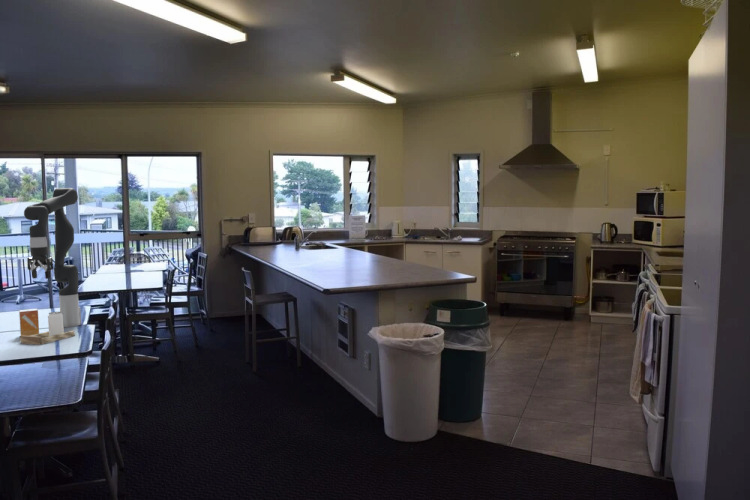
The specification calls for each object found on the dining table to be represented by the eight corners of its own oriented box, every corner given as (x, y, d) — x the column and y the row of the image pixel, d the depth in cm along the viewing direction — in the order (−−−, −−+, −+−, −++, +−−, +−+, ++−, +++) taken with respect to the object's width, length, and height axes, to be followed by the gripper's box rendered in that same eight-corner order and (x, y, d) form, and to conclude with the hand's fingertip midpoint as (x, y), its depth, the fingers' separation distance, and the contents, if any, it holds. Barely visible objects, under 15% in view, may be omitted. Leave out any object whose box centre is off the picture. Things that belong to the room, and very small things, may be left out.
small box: (21, 337, 293) (19, 311, 292) (20, 335, 299) (18, 310, 298) (39, 335, 298) (38, 309, 297) (38, 333, 303) (37, 308, 302)
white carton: (49, 338, 288) (47, 314, 287) (49, 336, 294) (47, 312, 293) (63, 336, 291) (62, 312, 290) (64, 334, 297) (62, 311, 296)
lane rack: (55, 334, 299) (55, 327, 299) (74, 335, 295) (74, 328, 295) (20, 343, 280) (20, 336, 280) (40, 344, 276) (39, 337, 276)
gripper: (56, 245, 294) (58, 277, 295) (34, 245, 298) (36, 277, 300) (43, 246, 287) (45, 279, 288) (21, 246, 291) (23, 279, 293)
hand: (41, 278), depth 294 cm, fingers open, 8 cm apart
